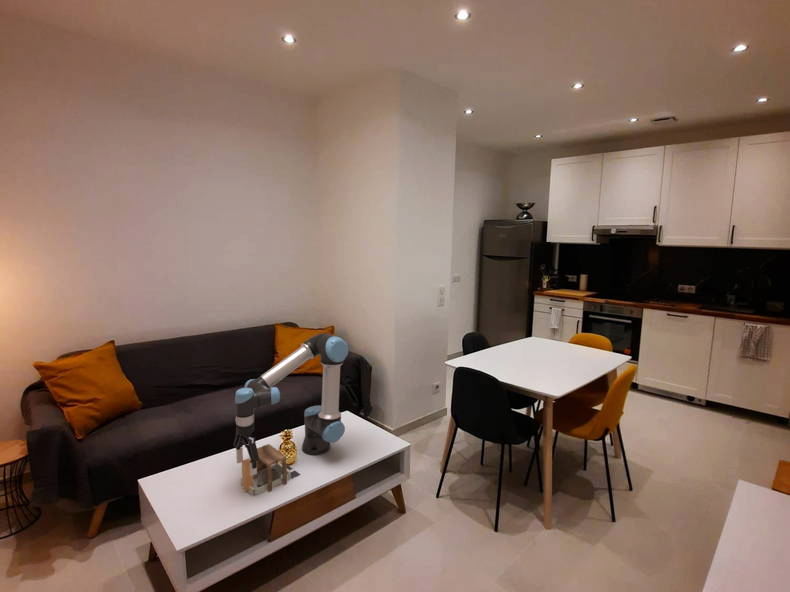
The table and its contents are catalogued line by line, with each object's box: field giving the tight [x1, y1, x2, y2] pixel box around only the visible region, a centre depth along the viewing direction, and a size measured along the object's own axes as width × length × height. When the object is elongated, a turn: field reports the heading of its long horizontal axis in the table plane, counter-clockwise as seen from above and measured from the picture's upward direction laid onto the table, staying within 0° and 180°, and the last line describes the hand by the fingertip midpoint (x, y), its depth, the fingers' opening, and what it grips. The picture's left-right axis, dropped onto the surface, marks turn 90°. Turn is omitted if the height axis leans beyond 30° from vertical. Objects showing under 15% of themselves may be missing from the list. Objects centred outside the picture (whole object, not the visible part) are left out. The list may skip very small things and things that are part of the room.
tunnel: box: [257, 443, 288, 493], centre depth 194 cm, size 9×16×14 cm, turn 45°
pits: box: [287, 465, 301, 480], centre depth 203 cm, size 5×12×1 cm, turn 45°
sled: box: [240, 458, 292, 497], centre depth 193 cm, size 20×12×14 cm, turn 135°
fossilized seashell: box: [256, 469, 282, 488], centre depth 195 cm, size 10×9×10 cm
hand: (246, 468), depth 186 cm, fingers open, 13 cm apart
